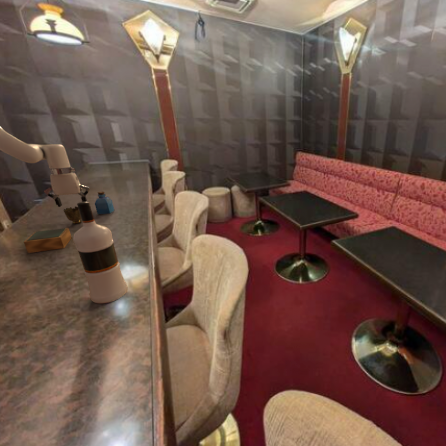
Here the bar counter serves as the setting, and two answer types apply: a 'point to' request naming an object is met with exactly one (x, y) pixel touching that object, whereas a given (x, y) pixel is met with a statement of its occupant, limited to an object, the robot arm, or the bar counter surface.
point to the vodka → (98, 258)
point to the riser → (47, 240)
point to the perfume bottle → (103, 204)
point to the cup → (73, 215)
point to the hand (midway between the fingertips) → (72, 205)
